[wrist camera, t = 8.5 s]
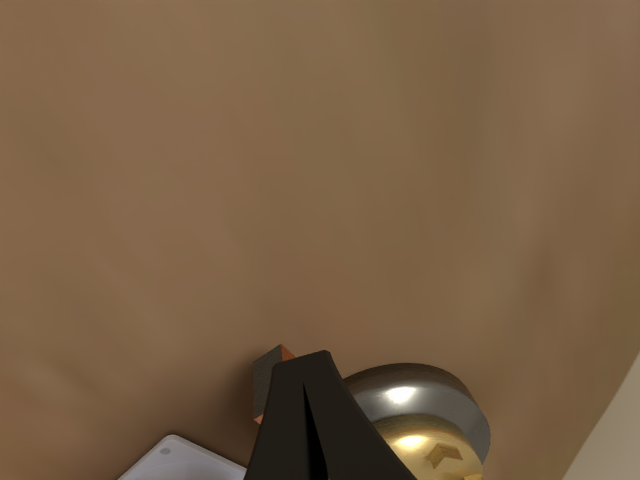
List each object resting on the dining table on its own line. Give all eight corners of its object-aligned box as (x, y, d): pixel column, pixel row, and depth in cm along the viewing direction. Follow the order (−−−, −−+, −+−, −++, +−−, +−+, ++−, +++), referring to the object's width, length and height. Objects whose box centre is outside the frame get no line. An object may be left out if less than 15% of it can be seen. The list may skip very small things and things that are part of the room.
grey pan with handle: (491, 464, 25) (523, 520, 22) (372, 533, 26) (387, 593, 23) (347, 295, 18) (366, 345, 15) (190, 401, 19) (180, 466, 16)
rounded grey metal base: (373, 514, 29) (382, 544, 28) (250, 452, 24) (250, 484, 23) (506, 419, 27) (524, 446, 25) (399, 328, 22) (413, 354, 20)
